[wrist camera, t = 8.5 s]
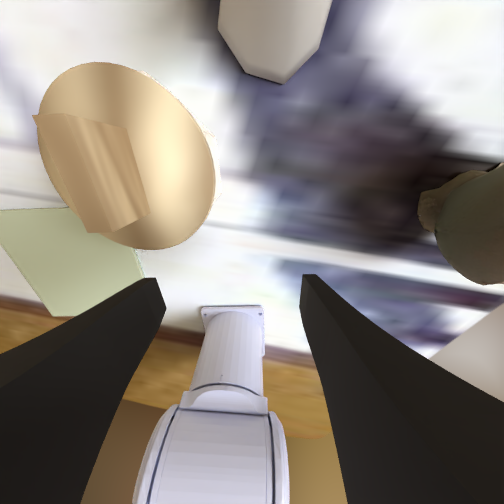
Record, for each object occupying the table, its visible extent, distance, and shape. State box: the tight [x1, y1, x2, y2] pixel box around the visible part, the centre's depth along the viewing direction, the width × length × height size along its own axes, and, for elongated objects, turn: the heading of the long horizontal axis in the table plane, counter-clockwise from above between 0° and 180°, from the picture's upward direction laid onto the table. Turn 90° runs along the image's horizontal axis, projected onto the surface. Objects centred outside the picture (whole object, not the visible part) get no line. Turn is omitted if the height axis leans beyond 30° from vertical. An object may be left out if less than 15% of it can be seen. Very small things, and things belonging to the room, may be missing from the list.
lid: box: [32, 62, 216, 250], centre depth 11 cm, size 11×11×5 cm
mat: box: [0, 207, 145, 316], centre depth 21 cm, size 14×14×1 cm
